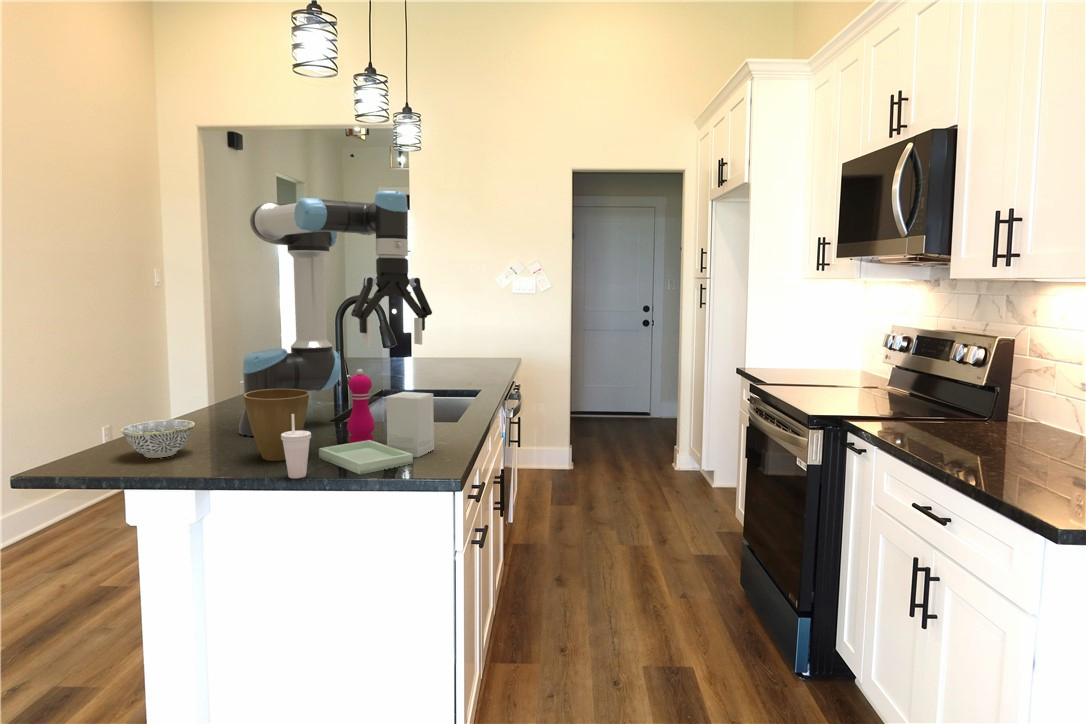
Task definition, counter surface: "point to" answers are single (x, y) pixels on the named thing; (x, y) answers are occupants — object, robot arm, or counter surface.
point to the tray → (365, 456)
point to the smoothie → (296, 451)
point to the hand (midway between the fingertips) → (393, 345)
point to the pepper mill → (360, 409)
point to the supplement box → (410, 422)
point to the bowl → (158, 436)
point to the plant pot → (275, 418)
